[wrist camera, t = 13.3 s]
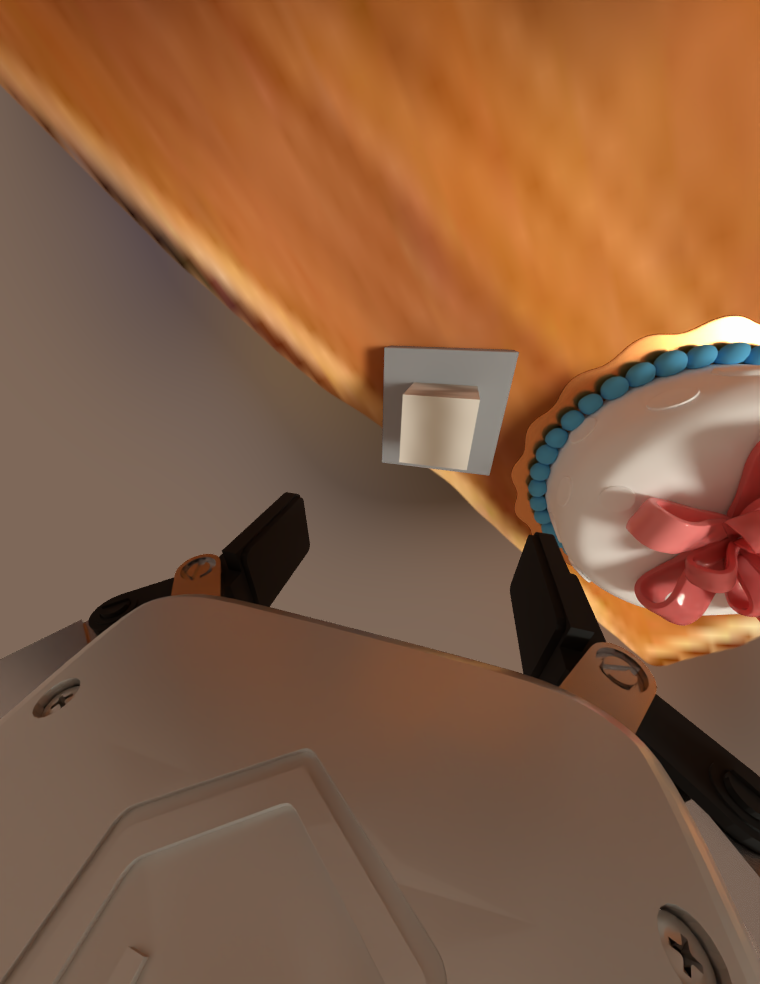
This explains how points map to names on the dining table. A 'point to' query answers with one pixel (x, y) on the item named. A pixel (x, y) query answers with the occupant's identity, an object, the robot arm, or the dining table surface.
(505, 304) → the dining table surface
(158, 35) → the dining table surface
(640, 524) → the wedding cake
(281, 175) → the dining table surface
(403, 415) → the cube
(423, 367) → the stand
